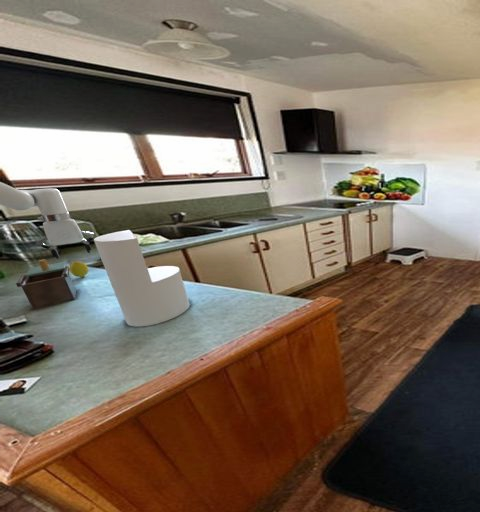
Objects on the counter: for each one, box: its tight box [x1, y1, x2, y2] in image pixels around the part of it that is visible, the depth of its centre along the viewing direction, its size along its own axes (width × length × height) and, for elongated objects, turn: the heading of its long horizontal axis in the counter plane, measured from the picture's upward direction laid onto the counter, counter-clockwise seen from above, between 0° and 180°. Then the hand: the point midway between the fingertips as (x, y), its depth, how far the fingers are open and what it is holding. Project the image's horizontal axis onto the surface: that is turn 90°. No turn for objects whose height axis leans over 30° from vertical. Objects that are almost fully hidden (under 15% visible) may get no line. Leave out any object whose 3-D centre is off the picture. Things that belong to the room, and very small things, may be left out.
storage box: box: [15, 265, 77, 311], centre depth 103 cm, size 12×12×11 cm
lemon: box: [69, 260, 89, 278], centre depth 125 cm, size 6×6×8 cm
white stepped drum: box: [93, 229, 191, 327], centre depth 89 cm, size 17×17×28 cm
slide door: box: [25, 259, 68, 277], centre depth 107 cm, size 10×11×5 cm
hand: (74, 255), depth 123 cm, fingers open, 9 cm apart
